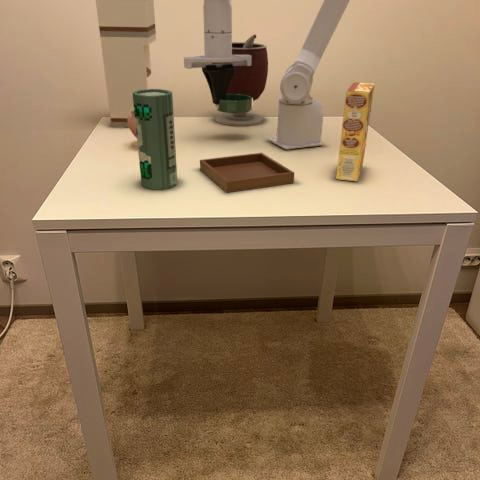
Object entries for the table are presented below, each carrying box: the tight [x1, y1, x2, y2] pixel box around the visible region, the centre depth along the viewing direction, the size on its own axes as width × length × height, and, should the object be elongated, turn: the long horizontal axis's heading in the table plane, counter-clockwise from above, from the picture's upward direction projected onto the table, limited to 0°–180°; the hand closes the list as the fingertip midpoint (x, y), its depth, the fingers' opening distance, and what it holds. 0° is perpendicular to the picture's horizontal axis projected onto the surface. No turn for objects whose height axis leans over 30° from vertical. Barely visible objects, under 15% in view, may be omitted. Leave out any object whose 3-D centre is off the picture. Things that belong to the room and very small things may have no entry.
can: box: [132, 88, 178, 191], centre depth 84 cm, size 6×6×15 cm
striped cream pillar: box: [95, 0, 157, 128], centre depth 115 cm, size 11×11×35 cm
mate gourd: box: [212, 34, 269, 127], centre depth 122 cm, size 16×14×20 cm
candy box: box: [335, 81, 376, 182], centre depth 90 cm, size 9×4×15 cm, turn 162°
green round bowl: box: [214, 94, 254, 113], centre depth 110 cm, size 8×8×2 cm
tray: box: [199, 152, 295, 193], centre depth 92 cm, size 13×13×2 cm
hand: (218, 103), depth 108 cm, fingers closed on green round bowl, 1 cm apart
